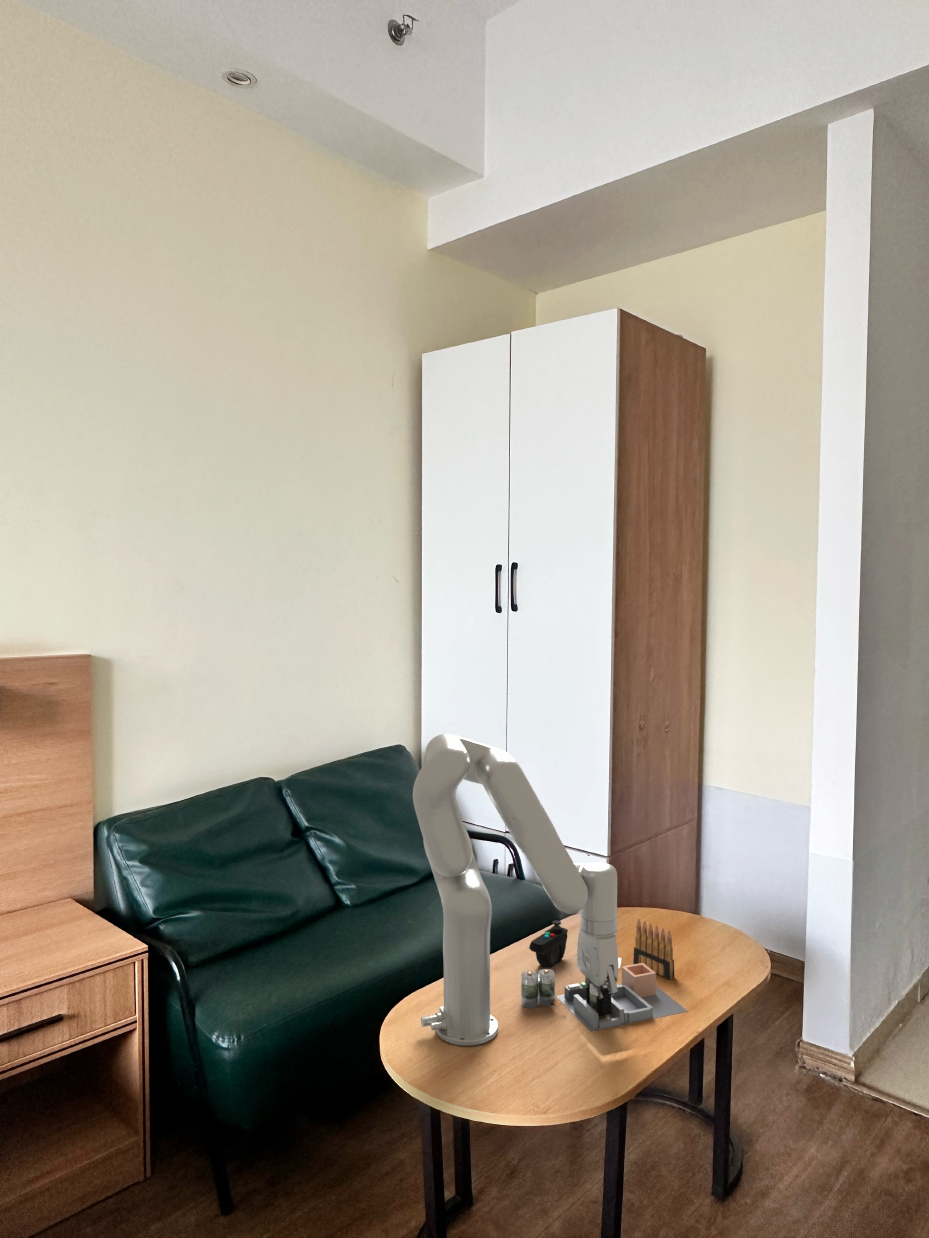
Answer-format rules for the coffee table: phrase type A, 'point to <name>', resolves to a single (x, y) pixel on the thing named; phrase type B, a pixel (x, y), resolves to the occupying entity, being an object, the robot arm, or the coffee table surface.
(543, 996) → the cell
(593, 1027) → the board
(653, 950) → the ammunition clip
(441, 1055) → the coffee table surface
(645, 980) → the pink hollow box
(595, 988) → the cell
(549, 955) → the controller
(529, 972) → the cell
